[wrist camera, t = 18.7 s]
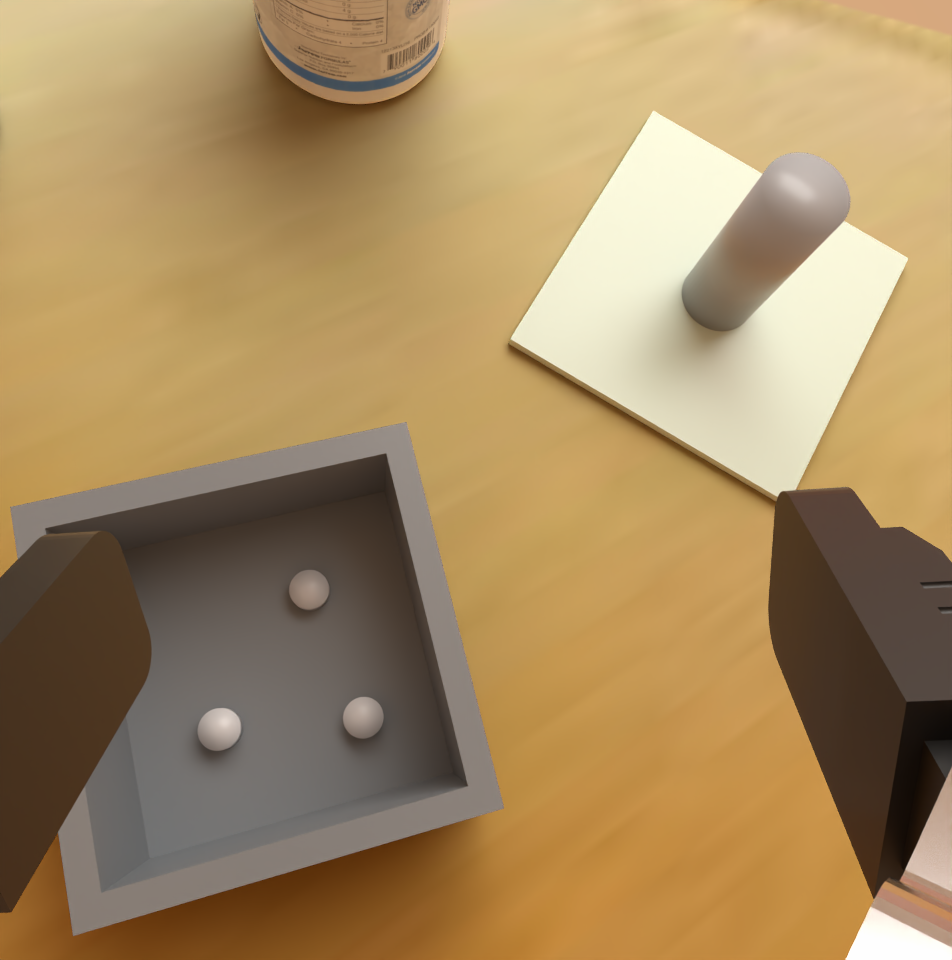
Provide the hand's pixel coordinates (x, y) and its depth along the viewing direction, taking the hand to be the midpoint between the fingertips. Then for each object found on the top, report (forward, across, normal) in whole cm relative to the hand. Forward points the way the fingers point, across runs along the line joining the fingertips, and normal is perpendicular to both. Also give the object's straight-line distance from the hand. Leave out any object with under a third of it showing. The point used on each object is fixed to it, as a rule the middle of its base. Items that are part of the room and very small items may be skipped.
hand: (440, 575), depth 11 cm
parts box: (+19, +10, +17) cm, 28 cm away
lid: (+34, -10, +7) cm, 36 cm away
